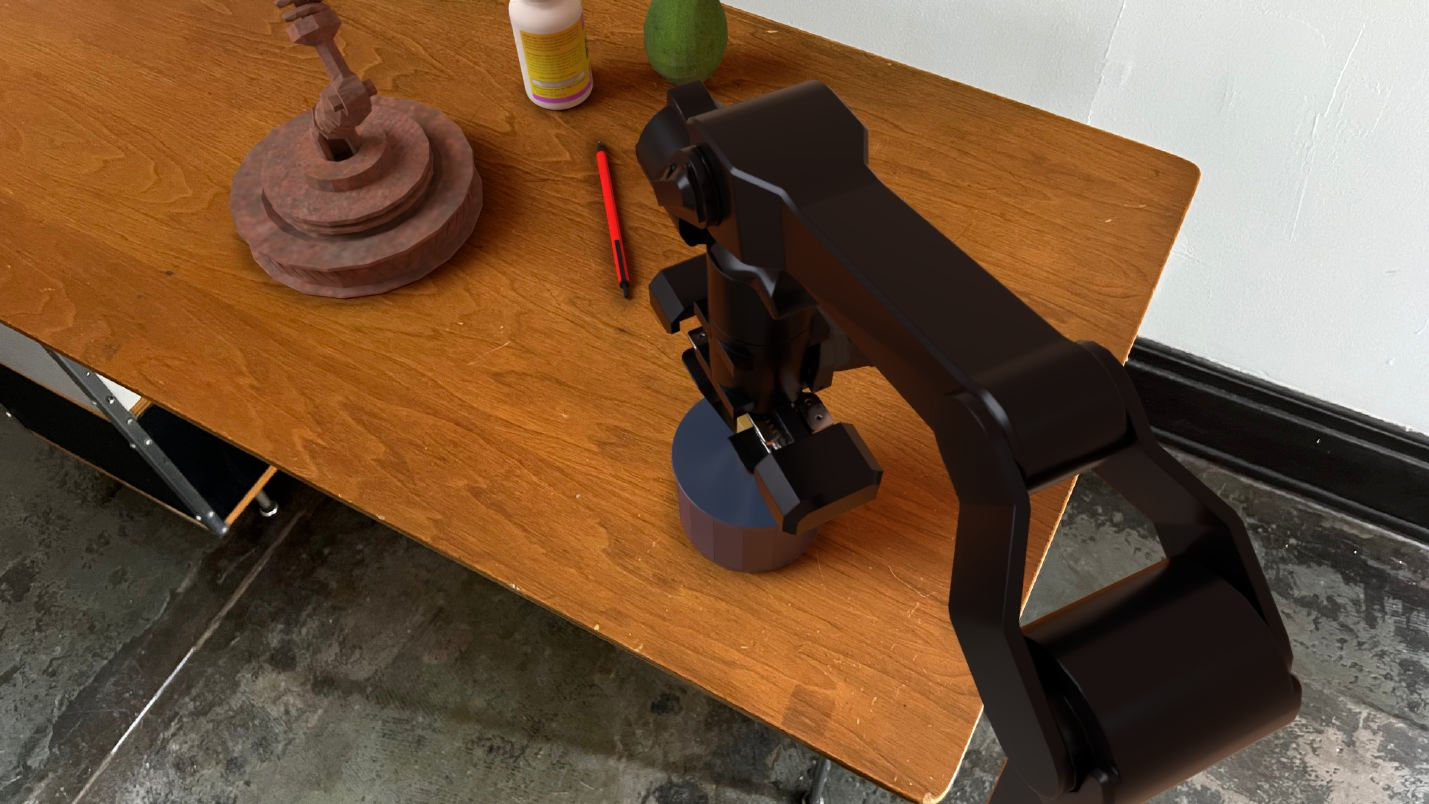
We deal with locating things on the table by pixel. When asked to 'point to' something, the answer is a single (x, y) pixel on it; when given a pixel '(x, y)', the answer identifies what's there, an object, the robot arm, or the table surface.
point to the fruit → (685, 38)
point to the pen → (613, 221)
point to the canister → (742, 542)
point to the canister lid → (717, 471)
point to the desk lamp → (354, 182)
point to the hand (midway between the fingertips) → (754, 451)
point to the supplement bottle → (552, 51)
